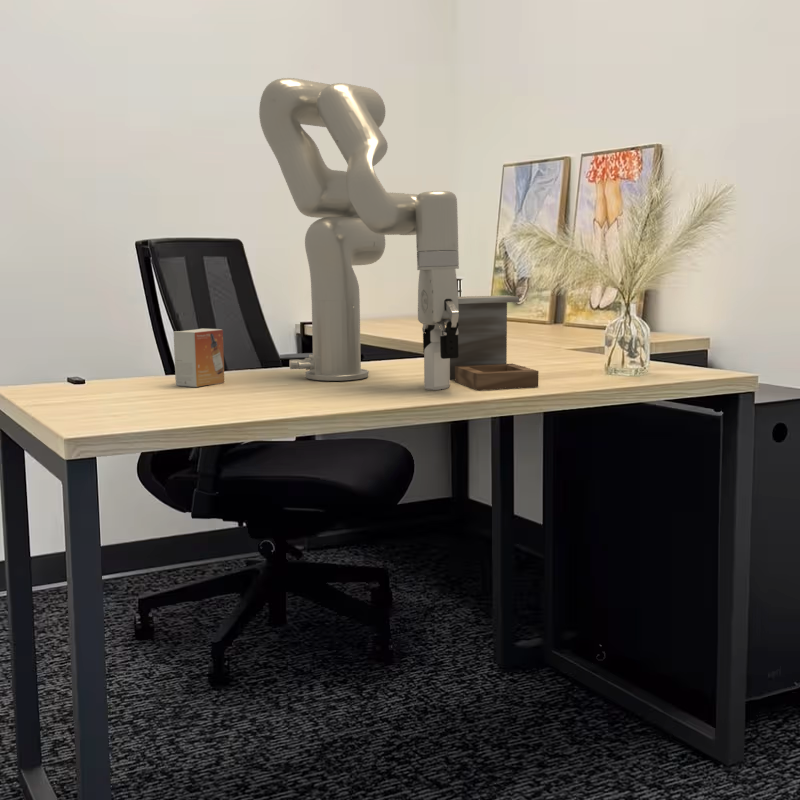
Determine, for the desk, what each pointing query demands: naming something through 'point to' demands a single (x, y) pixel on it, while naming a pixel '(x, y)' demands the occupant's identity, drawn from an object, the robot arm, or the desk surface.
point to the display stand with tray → (486, 346)
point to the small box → (199, 357)
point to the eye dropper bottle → (435, 363)
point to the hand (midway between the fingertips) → (440, 356)
